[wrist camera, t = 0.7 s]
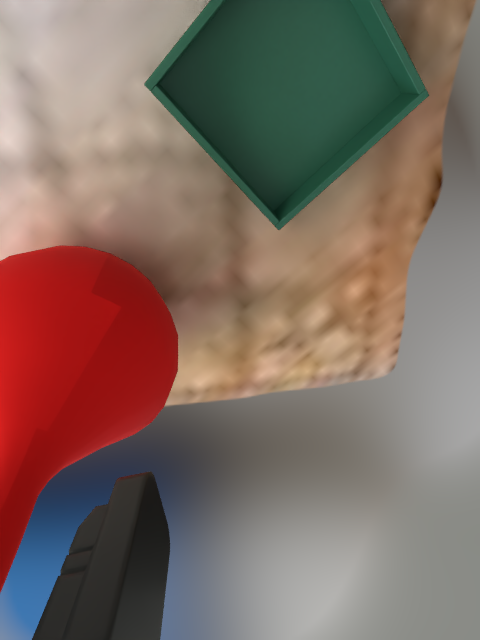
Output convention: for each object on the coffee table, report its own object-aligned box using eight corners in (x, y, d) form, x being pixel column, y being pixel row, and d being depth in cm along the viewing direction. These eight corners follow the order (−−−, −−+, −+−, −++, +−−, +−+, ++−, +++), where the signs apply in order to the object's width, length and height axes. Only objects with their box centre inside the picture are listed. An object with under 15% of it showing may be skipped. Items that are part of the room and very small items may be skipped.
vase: (168, 209, 35) (101, 548, 10) (191, 358, 45) (184, 706, 20) (-34, 223, 34) (-667, 642, 9) (36, 373, 44) (-167, 759, 19)
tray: (149, 83, 29) (143, 84, 26) (299, -105, 24) (314, -130, 21) (272, 217, 36) (278, 230, 33) (407, 93, 31) (429, 95, 28)
